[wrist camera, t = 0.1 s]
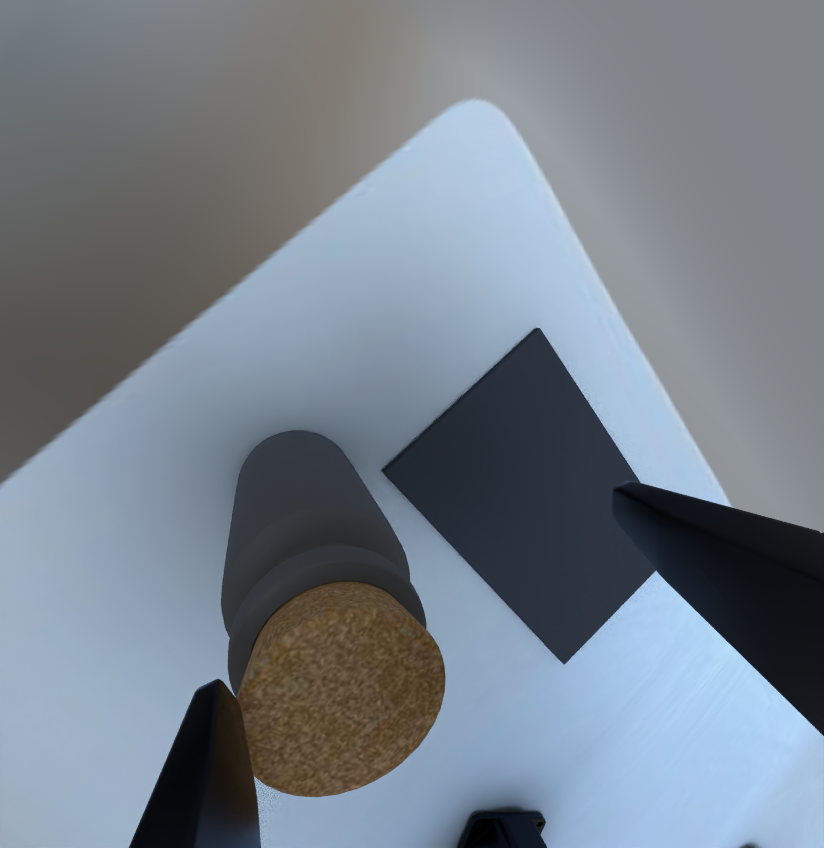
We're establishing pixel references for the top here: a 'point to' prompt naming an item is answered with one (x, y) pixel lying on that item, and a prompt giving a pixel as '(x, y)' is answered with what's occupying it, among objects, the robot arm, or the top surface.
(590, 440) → the desk mat
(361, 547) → the cork-stoppered jar
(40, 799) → the top surface
